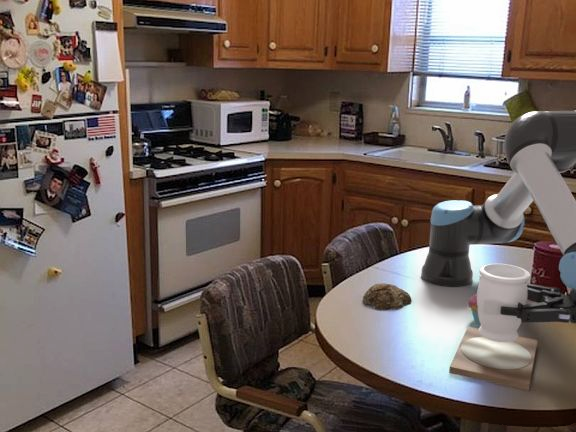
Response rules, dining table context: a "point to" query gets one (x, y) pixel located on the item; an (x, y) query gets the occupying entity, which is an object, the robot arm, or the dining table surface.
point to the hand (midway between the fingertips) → (482, 297)
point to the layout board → (495, 359)
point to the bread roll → (386, 297)
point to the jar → (501, 299)
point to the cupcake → (474, 307)
